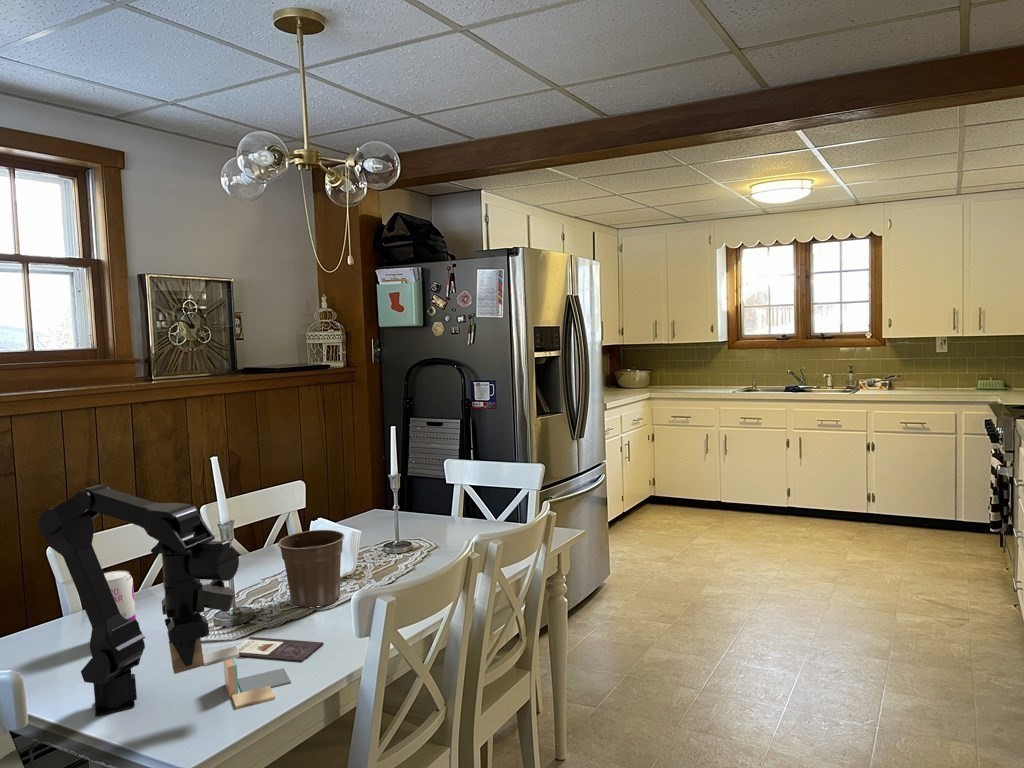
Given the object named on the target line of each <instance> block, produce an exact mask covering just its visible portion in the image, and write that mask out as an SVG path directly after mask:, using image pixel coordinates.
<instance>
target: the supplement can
mask: <svg viewBox="0 0 1024 768" xmlns="http://www.w3.org/2000/svg"><path fill="white" fill-rule="evenodd" d="M103 573H104V575H105V578H106V580H107V583H108V585H109V588H110V590H111V592H112V595H113V597H114V600H115V602H116V605H117V607H118V609H119V612H120V614H121V615H122V616H123V617H124V618H126V619H127V620H129V621H131V620H133V619H136V617H137V616H136V606H135V605H136V603H135V592H134V591H135V590H134V579H133V577H132V575H131V574H130V571H128V570H115V571H113V570H112V571H108V572H103ZM136 620H137V619H136Z"/></svg>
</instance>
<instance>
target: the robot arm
mask: <svg viewBox="0 0 1024 768" xmlns="http://www.w3.org/2000/svg"><path fill="white" fill-rule="evenodd" d="M98 515H103V516H107V517H110V518H113V519H116V520H119V521H123V522H125V523H128V524H132V525H135V526H137V527H140V528H142V529H144V531H145V533H146V534H147V536H149V537H151V538H153V539H154V540H156V541H158V542H157V544H155V545H154V546H153V548H152V549H151V550H150V552H151V554H161V560H162V573H163V574H162V577H163V591H164V598H163V599H162V600H161V609H162V614H163V615H164V616H165V615H166V618H165V619H164V624H165V626H166V628H167V637H168V643H169V642H170V643H172V644H173V646H174V647H175V649H176V651H177V652H178V654H179V656H180V658H181V659H182V661H183V663H184V665H185V666H190V665H192V661H193V656H194V650H195V644H196V639H197V638H200V639H201V638H205V637H209V635H210V627H209V622H208V620H207V618H206V617H205V616H203V615H202V614H201V613H205V609H210V610H211V609H212V610H216V611H217V610H219V611H221V612H226V613H228V612H230V611H231V607H232V604H233V602H234V597H235V592H234V590H233V589H232V588H231V587H229V586H225V583H224V582H227V581H230V580H232V579H234V577H235V575H236V573H237V572H238V569H239V564H240V558H239V555H238V553H237V551H236V549H235V548H233V547H231V544H230V540H224V539H223V540H215V538H216V537H215V535H214V534H213V532H212V531H211V529H210V528H209V527H208V525H207V523H206V522H205V521H204V519H203V518H202V516H201V515H200V513H199V511H198V508H197V507H196V506H194V505H193V504H190V503H182V502H164V503H163V502H162V503H161V502H155V501H151V500H147V499H145V498H141V497H138V496H134V495H132V494H129V493H125V492H122V491H119V490H116V489H112V488H110V487H109V486H107V485H103V484H98V485H94V486H91V487H90V486H89V487H86V488H83V489H81V490H80V491H78V492H77V493H75V494H74V495H73V496H71V497H70V498H68V499H66V500H65V501H62V502H61V503H60V504H57V505H56V506H54V507H51V508H48V509H45V510H44V511H42V513H41V514H40V517H39V520H38V521H37V527H38V530H39V533H40V534H41V536H42V537H43V539H44V541H45V543H46V544H47V546H48V547H49V548H51V549H52V550H54V551H55V552H57V554H60V555H61V556H62V558H63V560H64V562H65V564H66V567H67V570H68V572H69V575H70V577H71V579H72V581H73V584H74V586H75V589H76V591H77V594H78V596H79V599H80V601H81V603H82V606H83V608H84V611H85V613H86V615H87V618H88V621H89V624H90V626H91V633H90V639H89V645H88V647H89V650H90V651H89V652H90V654H91V658H90V660H89V661H88V662H86V665H84V667H83V668H82V669H81V670H80V673H81V676H82V680H83V682H84V683H87V684H93V694H94V717H99V716H104V715H107V714H111V713H117V712H120V711H125V710H130V709H133V708H134V707H136V706H135V705H136V704H135V701H136V700H137V699H138V697H137V683H136V673H132V669H133V668H134V667H136V666H139V665H140V661H141V657H142V655H143V652H144V650H145V648H146V646H145V645H146V644H145V640H144V639H145V638H146V636H145V635H144V634H143V633H142V631H141V628H140V624H139V621H138V620H137V619H133V620H131V621H129V620H127V619H126V618H124V617H123V616H122V615H121V614H120V612H119V609H118V607H117V605H116V602H115V600H114V597H113V595H112V592H111V590H110V588H109V585H108V583H107V580H106V578H105V575H104V573H105V572H104V570H103V568H102V566H101V564H100V561H99V559H98V556H97V553H96V551H95V549H94V546H93V539H94V536H95V535H94V534H95V529H96V527H95V523H94V521H93V519H95V518H96V517H97V516H98ZM193 535H195V536H193ZM191 536H192V537H191ZM188 537H189V538H188ZM183 539H184V540H183ZM201 580H206V581H211V582H209V583H206V584H203V583H202V582H201Z"/></svg>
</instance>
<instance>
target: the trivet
mask: <svg viewBox="0 0 1024 768" xmlns="http://www.w3.org/2000/svg"><path fill="white" fill-rule="evenodd" d="M291 683H292V680H291V679H290V677H289V676H288V674H287V671H286V670H285V668H284V667H282V668H278V669H275V670H269V671H266V672H262V673H256V674H252V675H248V676H244V677H240V678H238V687H239V688H240V691H241V693H242V692H246V691H250V690H255V689H259V688H263V687H267V686H270V687H271V689H273V688H276V687H280V686H281V687H282V686H284V685H289V684H291Z"/></svg>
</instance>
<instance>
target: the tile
mask: <svg viewBox="0 0 1024 768" xmlns="http://www.w3.org/2000/svg"><path fill="white" fill-rule="evenodd" d="M223 670H224V671H223V672H224V684H225V687H226V690H227V693H228V696H229V697H230V698H232V695H234V694H238V693H240V692H239V684H238V679H239V678H238V666H237V663H236V661H235V658H234V659H230V660H226V661H223Z"/></svg>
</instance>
